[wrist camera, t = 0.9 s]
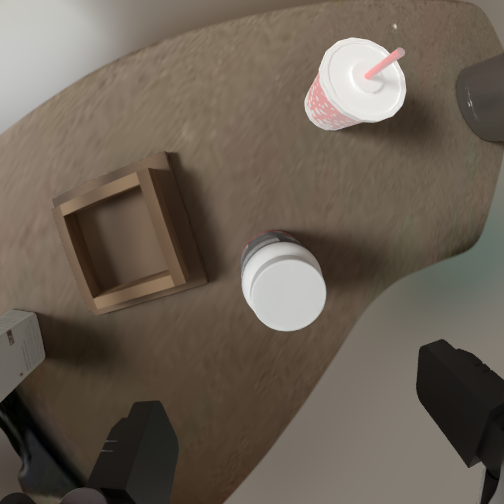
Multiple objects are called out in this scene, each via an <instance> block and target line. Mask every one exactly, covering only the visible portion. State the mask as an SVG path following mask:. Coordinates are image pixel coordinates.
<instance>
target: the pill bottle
mask: <svg viewBox="0 0 504 504" xmlns="http://www.w3.org/2000/svg"><path fill="white" fill-rule="evenodd" d="M241 280H242V290H243V294H244V297H245V299H246V301H247V303H248V304H249V306H250V307H251V308H252V309H253V310H254V312H255V314H256V315H257V317H258V318H259V319H260V320H261V321H262V322H263V323H264V324H265V325H267V326H269V327H271V328H273V329H276V330H280V331H294V330H298V329H301V328H303V327H305V326H307V325H309V324H310V323H312V322H313V321H314V320H315V319H316V318H317V317H318V316H319V314H320V313H321V311H322V309H323V307H324V305H325V301H326V285H325V282H324V279H323V277H322V272H321V268H320V266H319V263H318V261H317V260H316V258H315V257H314V256H313V255H312V253H311V252H310V251H309V250H307V249H306V248H305V247H304V246H303V245H302V244H301V243H300V242H299V241H298V240H297V239H295V238H294V237H293V236H291V235H290V234H288V233H285V232H283V231H278V230H269V231H264V232H261V233H259V234H257V235H256V236H254V237H253V238H252V239H251V240H250V241H249V242H248V243H247V244H246V246H245V248H244V250H243V252H242V256H241Z"/></svg>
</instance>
